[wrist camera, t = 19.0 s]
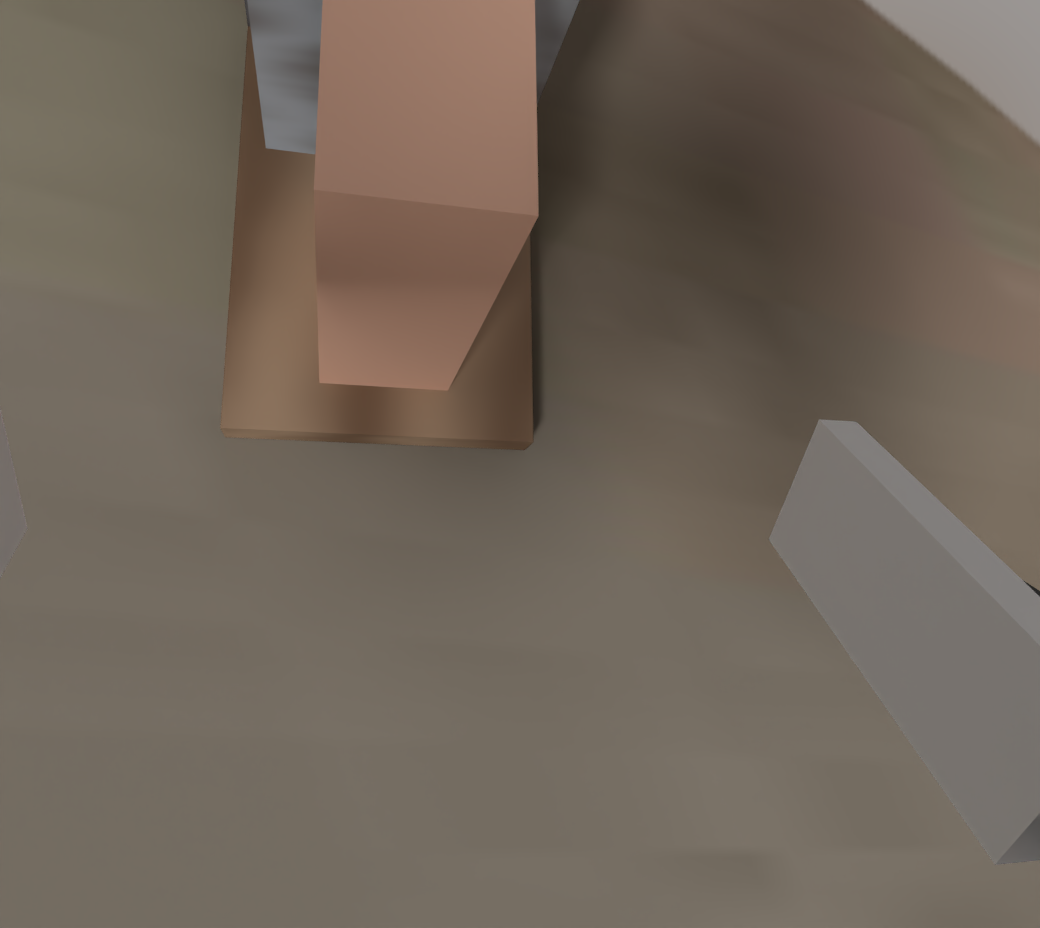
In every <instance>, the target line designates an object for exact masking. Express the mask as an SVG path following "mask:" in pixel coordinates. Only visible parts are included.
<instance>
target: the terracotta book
mask: <svg viewBox="0 0 1040 928" xmlns="http://www.w3.org/2000/svg"><path fill="white" fill-rule="evenodd" d="M314 215H315V249H316V283H317V318H318V352H319V383H328V384H345V385H361V386H378V387H395V388H412V389H428V390H445V391H448V389H449V388H450V386H451V384H452V382H453V380H454V378H455V376H456V374H457V372H458V370H459V368H460V366H461V364H462V362H463V361H464V359H465V357H466V355H467V353H468V351H469V349H470V347H471V345H472V343H473V341H474V339H475V337H476V336H477V334H478V332H479V330H480V328H481V326H482V324H483V322H484V320H485V318H486V316H487V314H488V312H489V311H490V309H491V307H492V305H493V303H494V301H495V299H496V297H497V295H498V293H499V291H500V289H501V287H502V285H503V284H504V282H505V280H506V278H507V276H508V274H509V272H510V270H511V268H512V266H513V264H514V262H515V260H516V259H517V257H518V255H519V253H520V251H521V249H522V247H523V245H524V243H525V241H526V239H527V237H528V235H529V233H530V232H531V230H532V228H533V226H534V224H535V222H536V220H537V218H538V216H539V207H538V149H537V92H536V34H535V0H323V2H322V23H321V45H320V66H319V88H318V109H317V131H316V153H315V174H314Z"/></svg>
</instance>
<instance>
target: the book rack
mask: <svg viewBox="0 0 1040 928" xmlns="http://www.w3.org/2000/svg"><path fill="white" fill-rule="evenodd" d="M322 2H323V0H245V8H246V15H247V23H248V32H247V47H246V61H245V76H244V91H243V105H242V120H241V134H240V149H239V164H238V178H237V193H236V207H235V222H234V237H233V251H232V266H231V280H230V295H229V309H228V324H227V339H226V353H225V368H224V382H223V397H222V412H221V426H220V428H221V430H222V432H223V434H224V436H225V437H232V438H256V439H279V440H302V441H326V442H349V443H373V444H396V445H419V446H443V447H466V448H490V449H513V450H525V449H526V448H527V447H528V446H529V445H531V444H532V443H533V388H532V320H531V252H530V233H529V235H528V237H527V239H526V241H525V243H524V245H523V247H522V249H521V251H520V253H519V255H518V257H517V259H516V260H515V262H514V264H513V266H512V268H511V270H510V272H509V274H508V276H507V278H506V280H505V282H504V284H503V285H502V287H501V289H500V291H499V293H498V295H497V297H496V299H495V301H494V303H493V305H492V307H491V309H490V311H489V312H488V314H487V316H486V318H485V320H484V322H483V324H482V326H481V328H480V330H479V332H478V334H477V336H476V337H475V339H474V341H473V343H472V345H471V347H470V349H469V351H468V353H467V355H466V357H465V359H464V361H463V362H462V364H461V366H460V368H459V370H458V372H457V374H456V376H455V378H454V380H453V382H452V384H451V386H450V388H449V389H448V391H445V390H428V389H412V388H395V387H378V386H361V385H345V384H328V383H319V352H318V318H317V283H316V249H315V215H314V174H315V153H316V131H317V109H318V88H319V66H320V45H321V23H322ZM578 3H579V0H535V34H536V92H537V104H538V102H539V99H540V97H541V94H542V92H543V89H544V87H545V84H546V82H547V79H548V77H549V74H550V72H551V70H552V67H553V65H554V62H555V60H556V57H557V55H558V52H559V50H560V47H561V45H562V42H563V40H564V37H565V35H566V33H567V30H568V28H569V25H570V23H571V20H572V18H573V15H574V13H575V10H576V8H577V5H578Z"/></svg>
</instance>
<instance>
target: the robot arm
mask: <svg viewBox="0 0 1040 928" xmlns="http://www.w3.org/2000/svg"><path fill="white" fill-rule="evenodd" d="M26 530H27V524H26V520H25V515H24V511H23V506H22V502H21V497H20V493H19V488H18V484H17V479H16V475H15V470H14V466H13V462H12V457H11V453H10V448H9V444H8V439H7V435H6V430H5V426H4V421H3V417H2V412H1V408H0V578H1V576H2V574H3V572H4V570H5V569H6V567H7V565H8V563H9V561H10V560H11V558H12V556H13V554H14V552H15V550H16V549H17V547H18V545H19V543H20V541H21V540H22V538H23V536H24V534H25V532H26ZM769 541H770V542H771V544H772V545H773V546H774V548H775V549H776V551H777V552H778V554H779V555H780V557H781V558H782V559H783V561H784V562H785V564H786V565H787V567H788V568H789V569H790V571H791V572H792V574H793V575H794V577H795V578H796V580H797V581H798V582H799V584H800V585H801V587H802V588H803V590H804V591H805V592H806V594H807V595H808V597H809V598H810V600H811V601H812V603H813V604H814V605H815V607H816V608H817V610H818V611H819V613H820V614H821V615H822V617H823V618H824V620H825V621H826V623H827V624H828V626H829V627H830V628H831V630H832V631H833V633H834V634H835V636H836V637H837V638H838V640H839V641H840V643H841V644H842V646H843V647H844V648H845V650H846V651H847V653H848V654H849V656H850V657H851V659H852V660H853V661H854V663H855V664H856V666H857V667H858V669H859V670H860V671H861V673H862V674H863V676H864V677H865V679H866V680H867V682H868V683H869V684H870V686H871V687H872V689H873V690H874V692H875V693H876V694H877V696H878V697H879V699H880V700H881V702H882V703H883V705H884V706H885V707H886V709H887V710H888V712H889V713H890V715H891V716H892V717H893V719H894V720H895V722H896V723H897V725H898V726H899V728H900V729H901V730H902V732H903V733H904V735H905V736H906V738H907V739H908V740H909V742H910V743H911V745H912V746H913V748H914V749H915V750H916V752H917V753H918V755H919V756H920V758H921V759H922V761H923V762H924V763H925V765H926V766H927V768H928V769H929V771H930V772H931V773H932V775H933V776H934V778H935V779H936V781H937V782H938V784H939V785H940V786H941V788H942V789H943V791H944V792H945V794H946V795H947V796H948V798H949V799H950V801H951V802H952V804H953V805H954V807H955V808H956V809H957V811H958V812H959V814H960V815H961V817H962V818H963V819H964V821H965V822H966V824H967V825H968V827H969V828H970V830H971V831H972V832H973V834H974V835H975V837H976V838H977V840H978V841H979V842H980V844H981V845H982V847H983V848H984V850H985V851H986V852H987V854H988V855H989V857H990V858H991V860H992V861H993V863H994V864H995V865H998V864H1007V863H1017V862H1027V861H1036V860H1040V591H1039V590H1037V589H1036V588H1034V587H1033V586H1031V585H1029V584H1028V583H1026V582H1025V581H1023V580H1022V579H1021V578H1020V577H1019V576H1017V575H1016V574H1015V573H1014V572H1013V571H1012V570H1011V569H1010V568H1009V567H1008V566H1007V565H1006V564H1005V563H1004V562H1003V561H1002V560H1001V559H1000V558H999V557H998V556H997V555H995V554H994V553H993V552H992V551H991V550H990V549H989V548H988V547H987V546H986V545H985V544H984V543H983V542H982V541H981V540H980V539H979V538H978V537H977V536H976V535H975V534H973V533H972V532H971V531H970V530H969V529H968V528H967V527H966V526H965V525H964V524H963V523H962V522H961V521H960V520H959V519H958V518H957V517H956V516H955V515H954V514H952V513H951V512H950V511H949V510H948V509H947V508H946V507H945V506H944V505H943V504H942V503H941V502H940V501H939V500H938V499H937V498H936V497H935V496H934V495H933V494H932V493H930V492H929V491H928V490H927V489H926V488H925V487H924V486H923V485H922V484H921V483H920V482H919V481H918V480H917V479H916V478H915V477H914V476H913V475H912V474H911V473H910V472H908V471H907V470H906V469H905V468H904V467H903V466H902V465H901V464H900V463H899V462H898V461H897V460H896V459H895V458H894V457H893V456H892V455H891V454H890V453H889V452H887V451H886V450H885V449H884V448H883V447H882V446H881V445H880V444H879V443H878V442H877V441H876V440H875V439H874V438H873V437H872V436H871V435H870V434H869V433H868V432H867V431H865V430H864V429H863V428H862V427H861V426H860V425H859V424H858V423H857V422H855V421H837V420H819V421H818V423H817V426H816V428H815V430H814V433H813V435H812V438H811V440H810V442H809V445H808V447H807V449H806V452H805V454H804V457H803V459H802V461H801V464H800V466H799V468H798V471H797V473H796V476H795V478H794V480H793V483H792V485H791V488H790V490H789V492H788V495H787V497H786V499H785V502H784V504H783V507H782V509H781V511H780V514H779V516H778V518H777V521H776V523H775V526H774V528H773V530H772V533H771V535H770V537H769Z"/></svg>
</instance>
